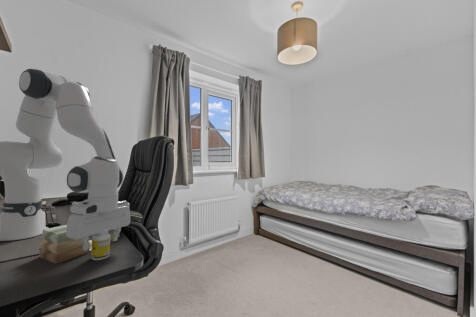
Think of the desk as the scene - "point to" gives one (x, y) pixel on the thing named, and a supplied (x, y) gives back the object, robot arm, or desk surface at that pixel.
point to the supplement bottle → (100, 245)
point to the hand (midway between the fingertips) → (101, 244)
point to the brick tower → (59, 245)
